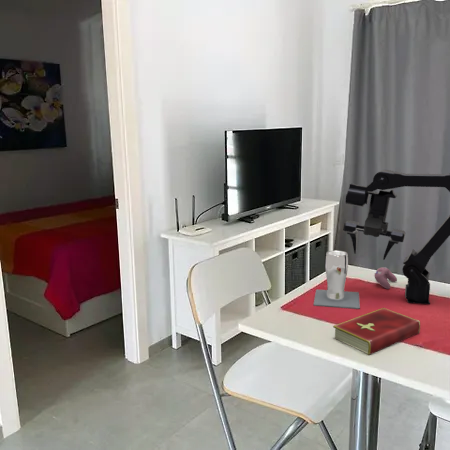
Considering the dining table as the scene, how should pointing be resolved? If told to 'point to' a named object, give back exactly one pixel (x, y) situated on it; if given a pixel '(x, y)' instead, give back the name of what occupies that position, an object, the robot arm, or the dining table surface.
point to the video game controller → (384, 277)
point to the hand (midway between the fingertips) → (369, 256)
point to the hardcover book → (376, 330)
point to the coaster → (348, 302)
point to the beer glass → (336, 274)
